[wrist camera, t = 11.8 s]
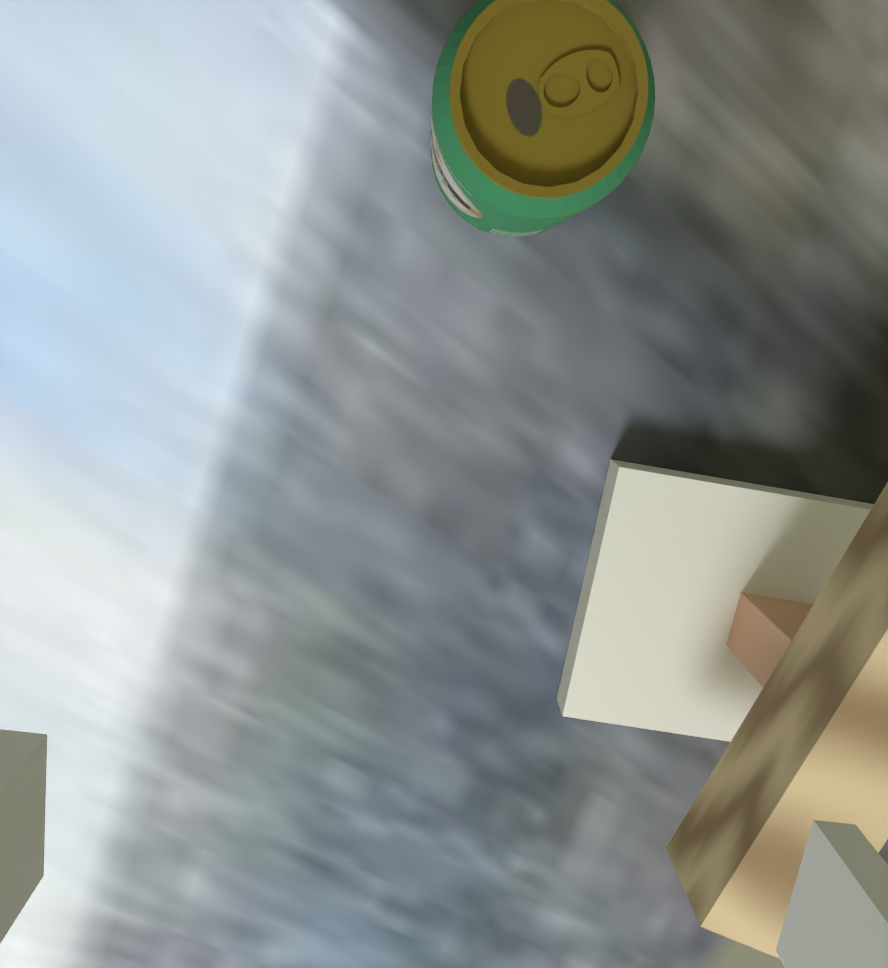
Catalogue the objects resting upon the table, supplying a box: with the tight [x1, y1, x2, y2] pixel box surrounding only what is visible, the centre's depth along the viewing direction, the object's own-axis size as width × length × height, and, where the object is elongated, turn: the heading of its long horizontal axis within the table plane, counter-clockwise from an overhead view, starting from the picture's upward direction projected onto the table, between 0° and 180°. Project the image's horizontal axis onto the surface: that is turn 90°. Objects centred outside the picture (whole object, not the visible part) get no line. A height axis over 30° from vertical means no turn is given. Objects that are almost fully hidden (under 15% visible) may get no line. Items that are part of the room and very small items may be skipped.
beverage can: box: [431, 0, 655, 237], centre depth 34 cm, size 8×8×12 cm
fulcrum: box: [557, 459, 874, 742], centre depth 41 cm, size 14×20×8 cm
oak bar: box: [667, 482, 888, 958], centre depth 35 cm, size 22×5×5 cm, turn 155°
